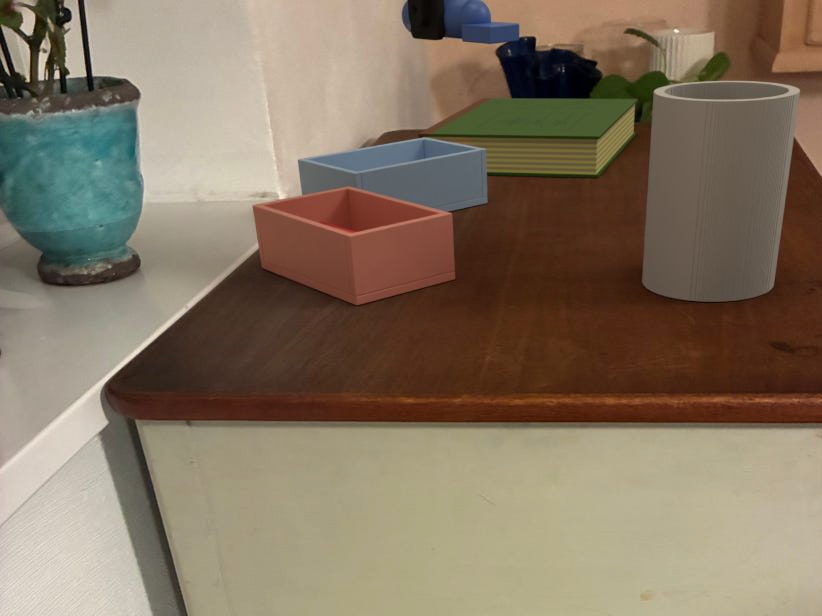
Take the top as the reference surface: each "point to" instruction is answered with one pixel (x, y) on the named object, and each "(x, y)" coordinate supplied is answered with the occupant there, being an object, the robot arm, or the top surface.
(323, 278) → the red bin
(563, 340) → the top surface
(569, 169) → the hardcover book
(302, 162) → the blue bin
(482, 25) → the blue capsule with block
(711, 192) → the cup
